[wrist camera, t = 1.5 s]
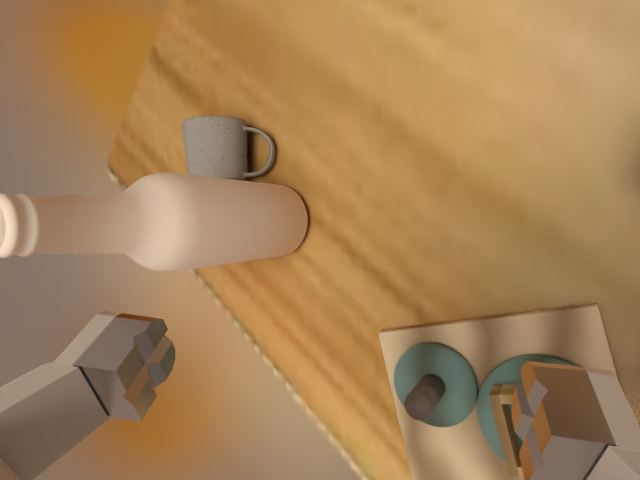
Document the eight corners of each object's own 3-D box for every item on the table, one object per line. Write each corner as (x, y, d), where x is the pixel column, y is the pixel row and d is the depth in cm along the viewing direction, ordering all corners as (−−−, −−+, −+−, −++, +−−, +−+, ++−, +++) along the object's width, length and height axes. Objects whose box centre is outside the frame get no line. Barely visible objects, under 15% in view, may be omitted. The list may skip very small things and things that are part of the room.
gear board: (596, 303, 35) (604, 322, 28) (649, 494, 33) (670, 560, 27) (382, 330, 45) (352, 349, 38) (417, 478, 44) (392, 523, 37)
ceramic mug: (217, 190, 56) (172, 187, 49) (214, 130, 56) (168, 119, 49) (281, 184, 51) (240, 179, 44) (278, 117, 51) (236, 103, 44)
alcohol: (278, 269, 51) (-5, 323, 26) (243, 215, 54) (-47, 216, 28) (324, 225, 48) (47, 237, 22) (285, 170, 50) (-7, 122, 24)
